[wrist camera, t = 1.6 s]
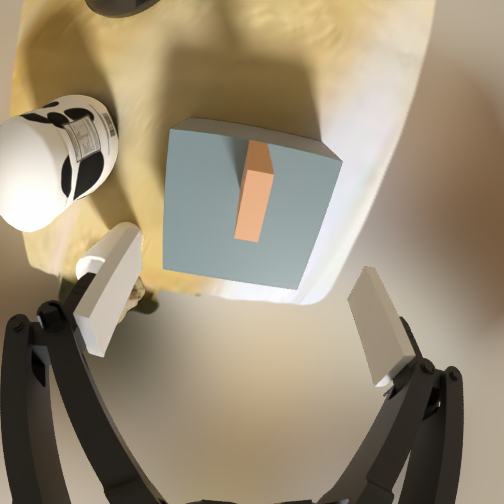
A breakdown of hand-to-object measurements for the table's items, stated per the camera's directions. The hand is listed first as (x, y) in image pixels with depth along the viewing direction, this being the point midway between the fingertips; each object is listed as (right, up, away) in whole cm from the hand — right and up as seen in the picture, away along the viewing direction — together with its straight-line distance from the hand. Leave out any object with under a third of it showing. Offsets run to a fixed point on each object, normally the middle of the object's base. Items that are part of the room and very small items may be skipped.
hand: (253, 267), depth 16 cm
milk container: (-29, +20, +22) cm, 41 cm away
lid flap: (-1, +5, +20) cm, 20 cm away
